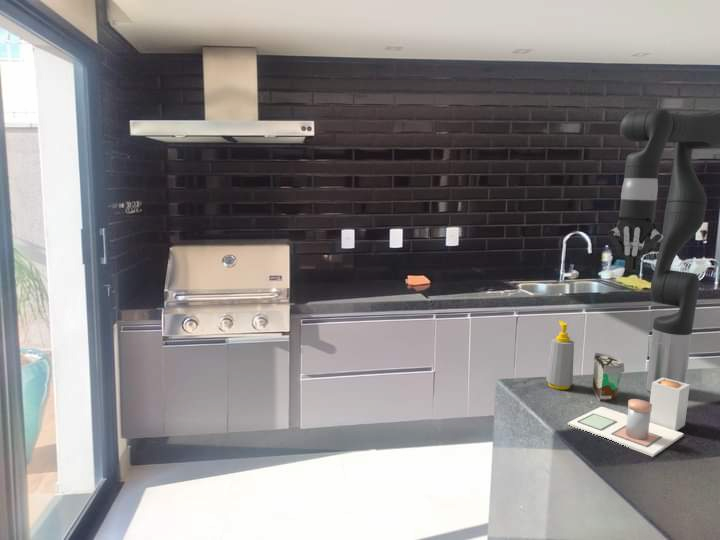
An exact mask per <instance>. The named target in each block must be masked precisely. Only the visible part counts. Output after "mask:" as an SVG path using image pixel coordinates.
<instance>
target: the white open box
mask: <svg viewBox="0 0 720 540" xmlns="http://www.w3.org/2000/svg"><path fill="white" fill-rule="evenodd" d="M664 380H668V381H674V382H677V383H679V384H681V387H680V388H678V389H677V388H674V387H670V386H666V385H663V384H661V381H664ZM690 386H691V384H689V383H687V382H686V383H682V382H678V381H675V380H671V379H667V378H663V377H662V378H660V379H658V380H656V381H654V382H652V387H651V392H650V398H649V403H651V404H652V410H651V414H650V423H653V424H657V425H660V426H663V427H666V428H669V429H672V430H675V431H678V430H680V429H681V428H683V427H685V426H686V419H687V411H688V410H687V409H688V405H689V404H688V403H689V393H690Z"/></svg>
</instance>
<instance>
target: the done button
mask: <svg viewBox="0 0 720 540" xmlns="http://www.w3.org/2000/svg"><path fill="white" fill-rule="evenodd" d="M661 384H663V385H666V386H670V387H674V388H677V389H678V388H680V387H681V384H679V383H677V382H674V381H668V380H664V381H661Z"/></svg>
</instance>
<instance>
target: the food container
mask: <svg viewBox="0 0 720 540" xmlns="http://www.w3.org/2000/svg"><path fill="white" fill-rule="evenodd" d="M593 356H594V357H593V360H594V361H593V362H594V363H593V375H592V376H593V377H592V391H593V392H594V395H595V396H596V398H597V399H598V401H599V403H600V402H603V403H610V402H614V401H616V400H617V396H618V391H619V384H620V380H621V376H622V375H621V374H622V373H624V372H625V365H624V362H623V360H622V359H621V358H619V357H616V356H614V355H611V354H606V353H601V352H600V353H599V352H594V355H593Z"/></svg>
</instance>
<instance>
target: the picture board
mask: <svg viewBox="0 0 720 540" xmlns="http://www.w3.org/2000/svg"><path fill="white" fill-rule="evenodd" d="M627 416H628V414H626V413H622V412H620V411H616V410H614V409H611V408H607V407H604V406H599V407H598V408H595V409H593V410H591V411H588V412H587V413H584V414H583V415H580V416H579V417H576V418H574V419H573V420H570V421H569V422H567V426H569V425H570V426H569V427H571V426H572V427H571V428H574V427H575V428H574V429H577V428H578V429H577V430H579V429H581V430H580V431H582V430H584V431H583V432H585V431H587V432H590V433H592V434H591V435H593V434H595V435H594V436H596V435H598V436H601V437H604V438H607V439H609V440H612V441H614V442H617V443H619V444H618V445H620V444H621V445H620V446H622V445H624V446H623V447H625V446H626V447H625V448H628V447H629V448H628V449H631V450H634V451H636V452H638V453H642V454H644V455H647V456H650V457H652V458H653V457H655V456H656V455H658V454H659V453H661V452H662V451H663V450H665V449H666V448H668V447H669V446H671V445H673V443H675V442H677V441H678V440H680V439H681V438H683V437H684V433H683V432H681V431H678V430H677V431H675V430H672V429H669V428H666V427H663V426H660V425H657V424H653V423H649V432H648V439H646V440H637V439H633V438H630V437H628V436H627V435H626V425H627ZM587 432H586V433H587ZM590 433H589V434H590ZM598 436H597V437H598ZM601 437H600V438H601ZM604 438H603V439H604ZM609 440H608V441H609ZM612 441H611V442H612ZM614 442H613V443H614ZM617 443H616V444H617Z"/></svg>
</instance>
